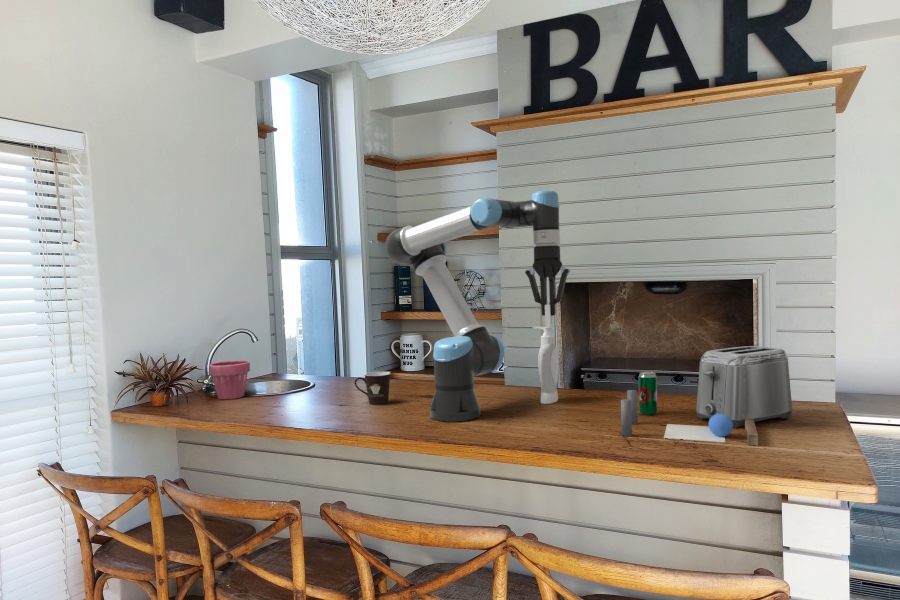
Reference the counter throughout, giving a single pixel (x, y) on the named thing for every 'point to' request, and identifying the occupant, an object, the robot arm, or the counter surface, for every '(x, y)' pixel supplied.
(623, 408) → the post
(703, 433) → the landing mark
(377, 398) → the coffee mug
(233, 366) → the plant pot
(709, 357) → the toaster
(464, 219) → the robot arm
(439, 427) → the counter surface
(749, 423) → the wall
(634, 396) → the post
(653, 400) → the soda can
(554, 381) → the soap bottle
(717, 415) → the ball
